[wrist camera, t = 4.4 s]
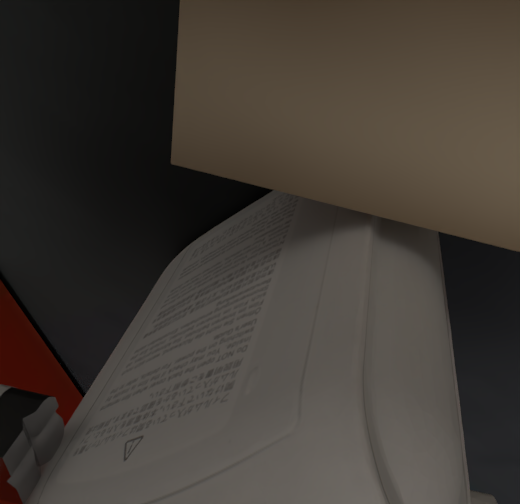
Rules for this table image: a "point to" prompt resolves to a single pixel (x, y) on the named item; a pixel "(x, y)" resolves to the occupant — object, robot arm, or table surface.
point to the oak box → (359, 106)
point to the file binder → (31, 360)
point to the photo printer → (278, 373)
